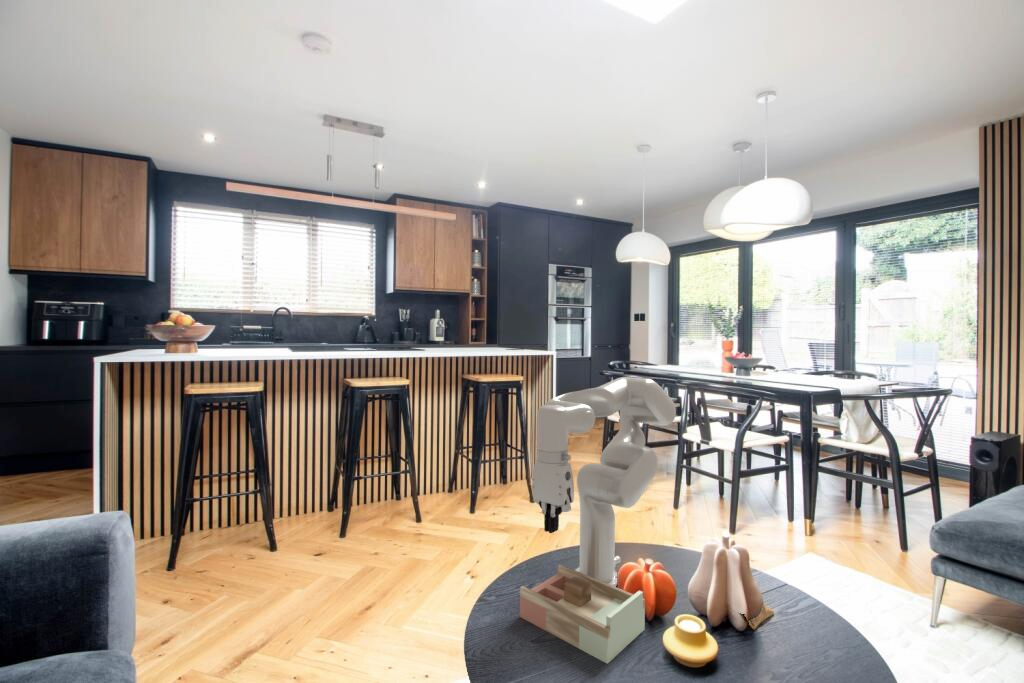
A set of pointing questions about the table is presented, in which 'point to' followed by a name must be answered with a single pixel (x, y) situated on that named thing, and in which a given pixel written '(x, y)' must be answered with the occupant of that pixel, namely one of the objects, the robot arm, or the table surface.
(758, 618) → the shard
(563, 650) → the table surface
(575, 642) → the box
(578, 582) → the walnut block
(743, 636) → the table surface
